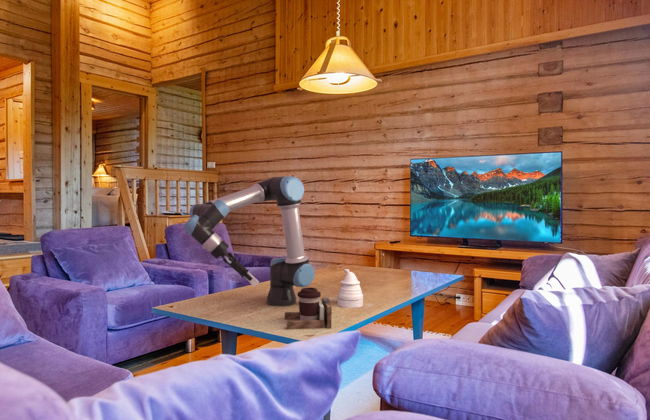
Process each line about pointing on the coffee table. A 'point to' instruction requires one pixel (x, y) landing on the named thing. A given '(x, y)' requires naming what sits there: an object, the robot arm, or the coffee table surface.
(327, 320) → the dock
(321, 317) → the catch plate
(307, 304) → the coffee cup
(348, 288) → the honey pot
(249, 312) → the coffee table surface
